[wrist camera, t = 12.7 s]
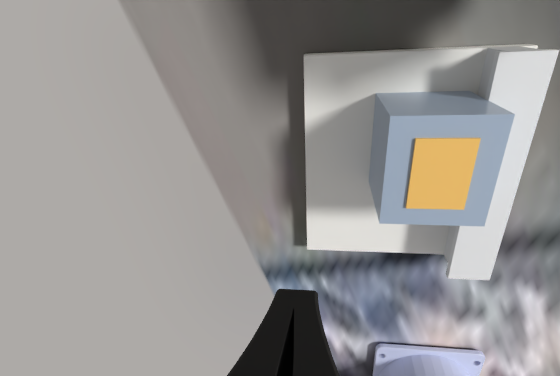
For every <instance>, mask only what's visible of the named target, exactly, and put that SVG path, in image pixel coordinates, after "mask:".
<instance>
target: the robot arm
mask: <svg viewBox="0 0 560 376" xmlns="http://www.w3.org/2000/svg"><path fill="white" fill-rule="evenodd" d="M484 360H485V356H484V354H483V352H481V351H478V350H465V349H451V348H438V347H424V346H410V345H396V344H383V343H382V344H378V345H377V346H376V348H375V357H374V365H373V374H372V376H479V375H480V372H481V369H482V366H483V363H484ZM227 376H339V373H338V371H337V368H336V365H335V363H334V360H333V357H332V354H331V351H330V348H329V345H328V342H327V339H326V335H325V332H324V328H323V325H322V320H321V316H320V311H319V305H318V293H317V292H316V291H310V290H291V289H279V290H278V291H277V292H276V294H275V297H274V299H273V301H272V304H271V306H270V308H269V310H268V312H267V314H266V315H265V317H264V319H263V321H262V323H261V325H260V326H259V328H258V330H257V332H256V333H255V335H254V337H253V338H252V340H251V341H250V343H249V345H248V346H247V348H246V349H245V351H244V352H243V354H242V355H241V357H240V358H239V360H238V361H237V363H236V364H235V365H234V367H233V368H232V370H231V371H230V372H229V374H228V375H227Z"/></svg>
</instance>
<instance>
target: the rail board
mask: <svg viewBox="0 0 560 376" xmlns="http://www.w3.org/2000/svg"><path fill="white" fill-rule="evenodd" d="M537 47H538V45H530V44H515V45H493V46H470V47H447V48H425V49H402V50H379V51H356V52H334V53H311V54H304V102H305V156H306V210H307V249H310V250H337V251H365V252H392V253H420V254H444V256H445V258H446V260H447V262H448V266H447V271H446V275H447V277H448V278H452V279H474V280H490V277H491V274H492V270H493V267H494V264H495V260H496V257H497V254H498V251H499V247H500V244H501V241H502V237H503V234H504V231H505V227H506V224H507V221H508V217H509V214H510V211H511V208H512V204H513V201H514V198H515V194H516V191H517V188H518V184H519V181H520V178H521V175H522V171H523V168H524V165H525V161H526V158H527V155H528V151H529V148H530V145H531V142H532V138H533V135H534V132H535V128H536V125H537V122H538V118H539V115H540V112H541V109H542V105H543V102H544V99H545V95H546V92H547V89H548V85H549V82H550V79H551V76H552V72H553V69H554V66H555V62H556V59H557V56H558V52H559V50H556V49H545V50H542V49H537ZM443 91H471V92H473V93H475V94H477V95H479V96H480V97H482V98H484V99H486V100H488V101H490V102H492V103H494V104H496V105H498V106H500V107H502V108H504V109H506V110H508V111H510V112H512V113H514V114H515V116H514V120H513V123H512V127H511V131H510V134H509V138H508V142H507V145H506V149H505V153H504V156H503V160H502V164H501V167H500V171H499V175H498V178H497V182H496V186H495V189H494V193H493V197H492V200H491V204H490V208H489V211H488V215H487V219H486V222H485V226H449V225H414V224H379V220H378V216H377V212H376V208H375V204H374V200H373V196H372V192H371V188H370V184H369V170H370V158H371V145H372V133H373V120H374V108H375V96H376V93H400V92H443Z"/></svg>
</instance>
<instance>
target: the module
mask: <svg viewBox="0 0 560 376" xmlns="http://www.w3.org/2000/svg"><path fill="white" fill-rule="evenodd" d="M514 116H515V114H514V113H512V112H510V111H508V110H506V109H504V108H502V107H500V106H498V105H496V104H494V103H492V102H490V101H488V100H486V99H484V98H482V97H480V96H479V95H477V94H475V93H473V92H471V91H443V92H400V93H376V96H375V108H374V120H373V133H372V145H371V158H370V170H369V184H370V188H371V192H372V196H373V200H374V204H375V208H376V212H377V216H378V220H379V224H414V225H449V226H485V222H486V219H487V215H488V211H489V208H490V204H491V200H492V197H493V193H494V189H495V186H496V182H497V178H498V175H499V171H500V167H501V164H502V160H503V156H504V153H505V149H506V145H507V142H508V138H509V134H510V131H511V127H512V123H513V120H514Z"/></svg>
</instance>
